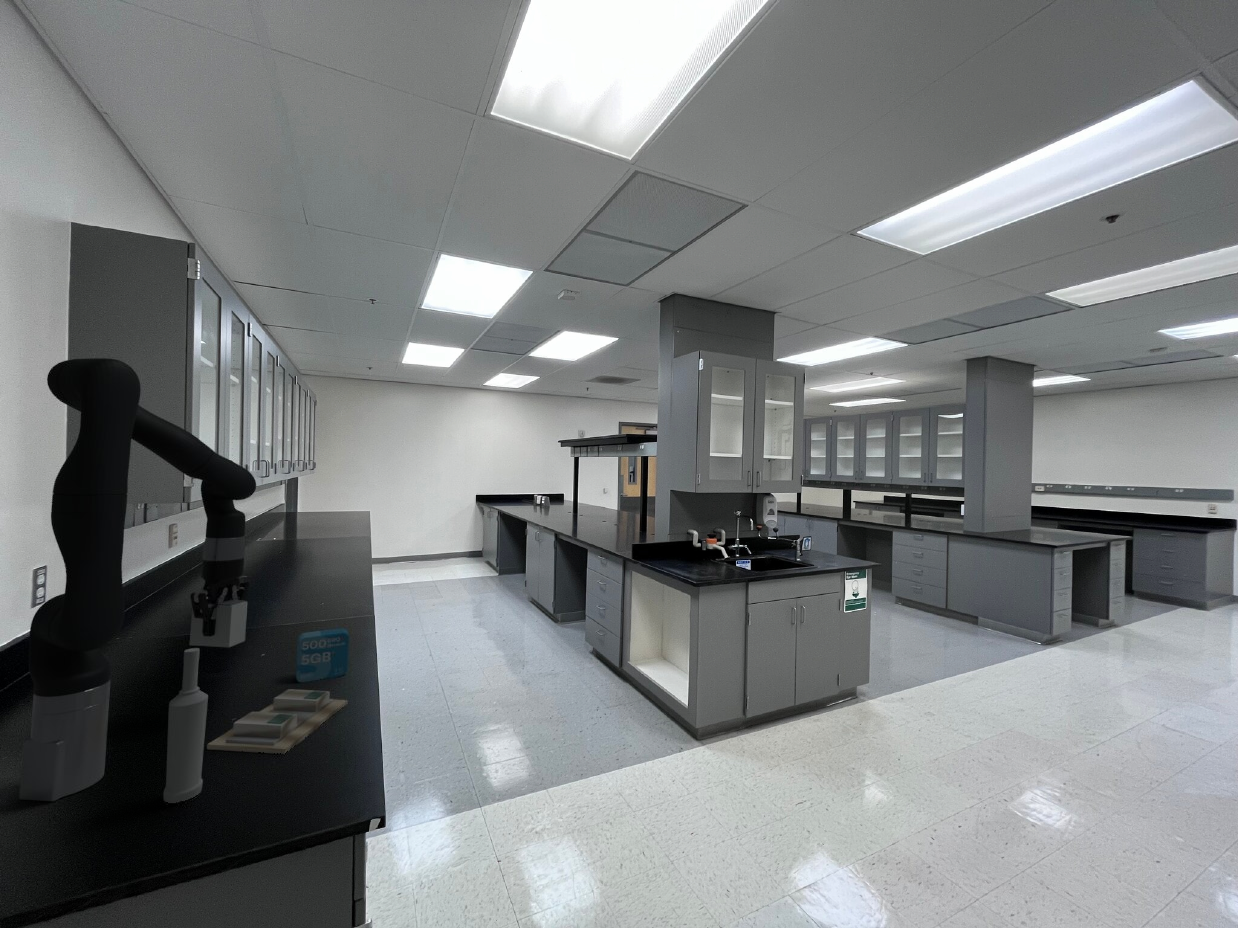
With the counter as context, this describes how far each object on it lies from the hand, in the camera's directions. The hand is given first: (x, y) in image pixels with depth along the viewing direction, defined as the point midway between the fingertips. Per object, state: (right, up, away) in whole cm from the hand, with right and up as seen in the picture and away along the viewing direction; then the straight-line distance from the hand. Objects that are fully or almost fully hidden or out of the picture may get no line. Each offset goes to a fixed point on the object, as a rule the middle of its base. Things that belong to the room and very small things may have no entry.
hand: (218, 632), depth 114 cm
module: (0, -2, 0) cm, 2 cm away
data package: (+9, -21, +24) cm, 33 cm away
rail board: (+16, -20, -2) cm, 26 cm away
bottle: (+15, -20, -27) cm, 37 cm away
